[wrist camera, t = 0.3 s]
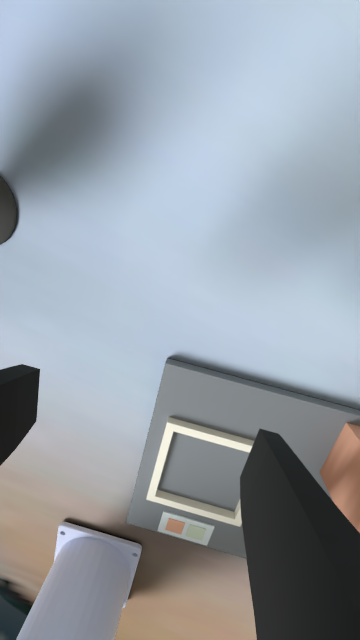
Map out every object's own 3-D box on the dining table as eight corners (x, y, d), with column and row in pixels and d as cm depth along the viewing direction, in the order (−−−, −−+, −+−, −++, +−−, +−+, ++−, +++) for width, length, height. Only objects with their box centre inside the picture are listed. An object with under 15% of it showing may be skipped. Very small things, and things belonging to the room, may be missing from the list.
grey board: (348, 578, 23) (356, 599, 22) (128, 513, 24) (123, 530, 22) (450, 434, 18) (469, 450, 17) (167, 358, 19) (163, 367, 17)
